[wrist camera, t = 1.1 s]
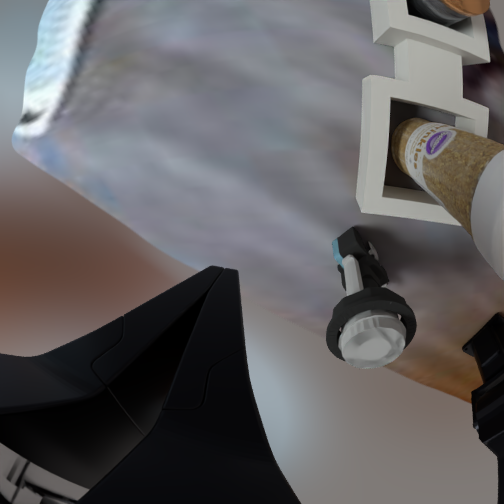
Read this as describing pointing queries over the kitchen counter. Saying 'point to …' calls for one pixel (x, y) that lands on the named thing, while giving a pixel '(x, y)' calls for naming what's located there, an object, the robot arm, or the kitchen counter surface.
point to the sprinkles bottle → (458, 178)
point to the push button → (367, 309)
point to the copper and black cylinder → (446, 10)
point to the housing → (416, 99)
